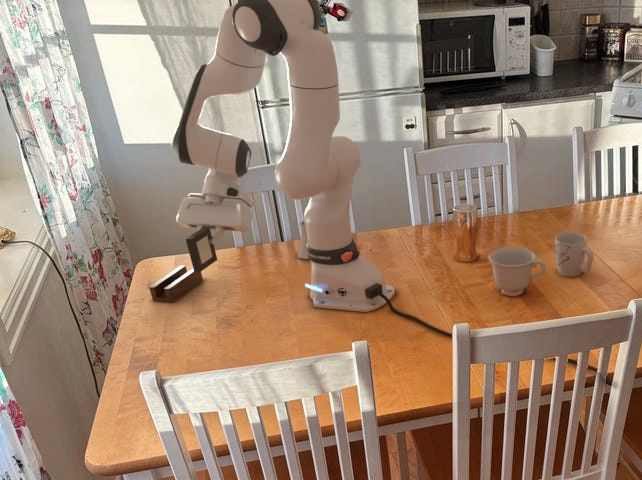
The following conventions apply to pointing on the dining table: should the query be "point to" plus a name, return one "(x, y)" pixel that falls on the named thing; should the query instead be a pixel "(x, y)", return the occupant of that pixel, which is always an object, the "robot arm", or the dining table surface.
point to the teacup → (514, 269)
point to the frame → (201, 249)
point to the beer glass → (465, 231)
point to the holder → (175, 284)
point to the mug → (572, 254)
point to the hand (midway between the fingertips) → (207, 244)
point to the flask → (303, 242)
